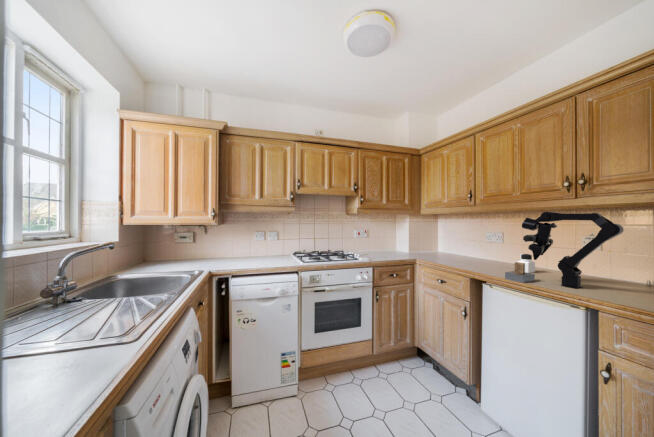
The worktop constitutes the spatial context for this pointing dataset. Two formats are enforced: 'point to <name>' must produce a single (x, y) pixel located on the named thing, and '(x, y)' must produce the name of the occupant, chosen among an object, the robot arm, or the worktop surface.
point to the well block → (520, 277)
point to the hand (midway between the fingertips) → (538, 257)
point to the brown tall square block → (519, 268)
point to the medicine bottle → (527, 263)
